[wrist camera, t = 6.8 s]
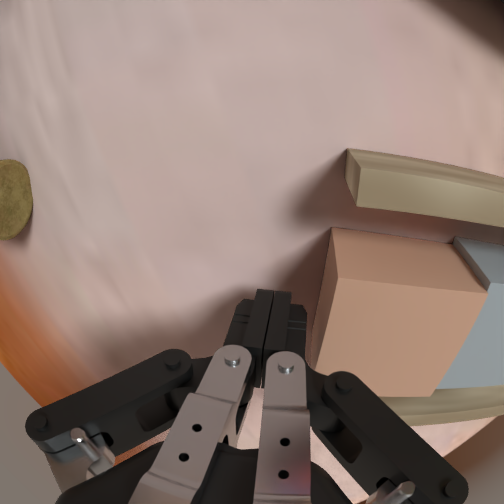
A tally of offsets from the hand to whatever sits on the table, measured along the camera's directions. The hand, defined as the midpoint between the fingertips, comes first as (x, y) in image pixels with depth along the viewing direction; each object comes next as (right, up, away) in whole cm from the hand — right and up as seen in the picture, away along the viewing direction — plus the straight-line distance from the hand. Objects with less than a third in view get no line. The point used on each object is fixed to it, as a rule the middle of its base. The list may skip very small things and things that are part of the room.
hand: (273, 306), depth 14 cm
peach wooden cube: (+5, 0, 0) cm, 5 cm away
